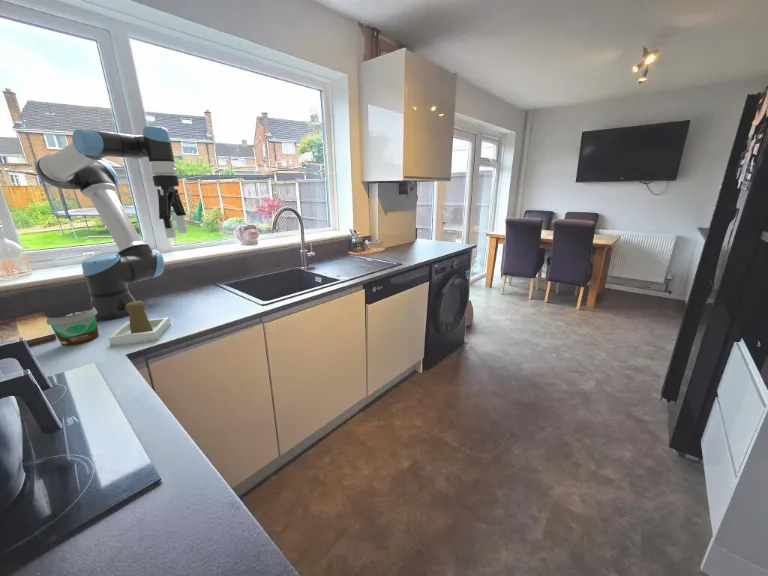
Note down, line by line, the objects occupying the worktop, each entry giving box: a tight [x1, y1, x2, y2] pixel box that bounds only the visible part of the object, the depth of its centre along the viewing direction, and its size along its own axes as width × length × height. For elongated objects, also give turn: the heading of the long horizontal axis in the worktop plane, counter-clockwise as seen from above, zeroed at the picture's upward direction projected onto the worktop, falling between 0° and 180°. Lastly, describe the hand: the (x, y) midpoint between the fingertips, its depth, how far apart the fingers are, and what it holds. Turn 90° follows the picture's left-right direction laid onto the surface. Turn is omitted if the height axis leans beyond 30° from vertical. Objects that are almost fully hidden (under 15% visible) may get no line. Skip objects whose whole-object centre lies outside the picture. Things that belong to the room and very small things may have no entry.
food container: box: [46, 307, 100, 347], centre depth 104 cm, size 12×6×10 cm, turn 148°
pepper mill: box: [125, 300, 153, 334], centre depth 108 cm, size 6×6×11 cm
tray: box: [107, 317, 172, 347], centre depth 109 cm, size 13×13×3 cm
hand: (177, 235), depth 121 cm, fingers open, 13 cm apart
